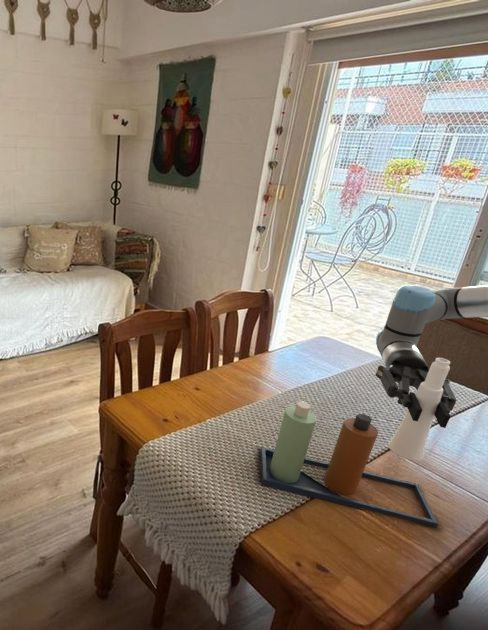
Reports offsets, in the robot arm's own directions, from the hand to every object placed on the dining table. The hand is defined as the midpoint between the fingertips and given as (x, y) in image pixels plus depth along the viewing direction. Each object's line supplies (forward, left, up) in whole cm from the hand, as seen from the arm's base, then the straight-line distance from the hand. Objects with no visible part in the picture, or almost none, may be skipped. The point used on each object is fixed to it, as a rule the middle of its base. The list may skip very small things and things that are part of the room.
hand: (431, 418), depth 84 cm
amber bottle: (+9, +6, -21) cm, 24 cm away
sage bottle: (+18, +12, -21) cm, 30 cm away
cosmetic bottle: (+3, -5, -12) cm, 13 cm away
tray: (+9, +6, -22) cm, 24 cm away
